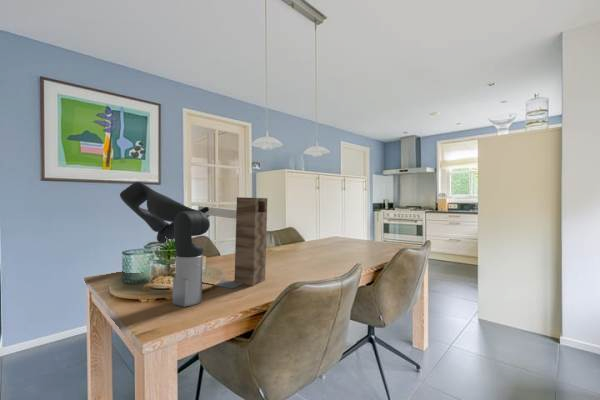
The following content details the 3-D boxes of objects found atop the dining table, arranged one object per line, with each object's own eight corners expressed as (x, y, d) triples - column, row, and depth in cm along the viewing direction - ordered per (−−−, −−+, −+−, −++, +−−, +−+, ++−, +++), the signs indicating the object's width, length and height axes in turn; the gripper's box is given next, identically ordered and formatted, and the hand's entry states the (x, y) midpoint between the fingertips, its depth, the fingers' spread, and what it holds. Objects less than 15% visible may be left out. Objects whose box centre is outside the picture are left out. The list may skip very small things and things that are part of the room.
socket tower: (253, 285, 122) (255, 198, 122) (234, 282, 126) (236, 197, 126) (265, 280, 131) (267, 198, 131) (247, 277, 135) (249, 197, 135)
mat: (232, 288, 117) (232, 287, 117) (187, 280, 127) (187, 279, 127) (242, 284, 124) (242, 283, 124) (198, 276, 134) (198, 275, 134)
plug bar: (234, 218, 130) (235, 210, 130) (197, 213, 138) (198, 205, 138) (239, 218, 134) (240, 209, 133) (203, 213, 142) (204, 205, 142)
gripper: (173, 215, 138) (198, 201, 132) (194, 214, 151) (218, 201, 145) (178, 229, 136) (203, 215, 130) (198, 227, 149) (222, 214, 144)
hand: (211, 208), depth 138 cm, fingers closed on plug bar, 4 cm apart
